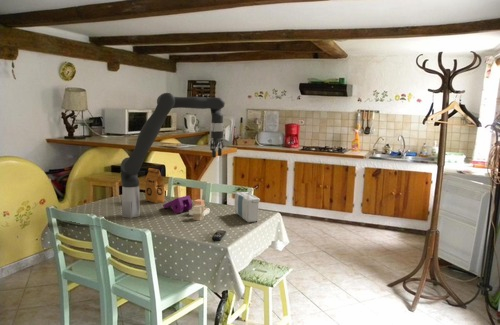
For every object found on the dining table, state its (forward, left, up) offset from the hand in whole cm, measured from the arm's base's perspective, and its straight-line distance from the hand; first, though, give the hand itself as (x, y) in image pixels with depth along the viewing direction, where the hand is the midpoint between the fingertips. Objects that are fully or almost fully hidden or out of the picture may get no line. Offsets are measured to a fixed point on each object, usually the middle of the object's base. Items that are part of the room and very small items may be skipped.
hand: (216, 156), depth 242 cm
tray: (-19, +2, -32) cm, 37 cm away
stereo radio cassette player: (-16, -26, -32) cm, 45 cm away
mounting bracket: (-17, +19, -33) cm, 41 cm away
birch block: (-29, -2, -32) cm, 43 cm away
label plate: (-3, +10, -32) cm, 34 cm away
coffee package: (-3, +43, -32) cm, 54 cm away
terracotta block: (-19, +2, -32) cm, 37 cm away
